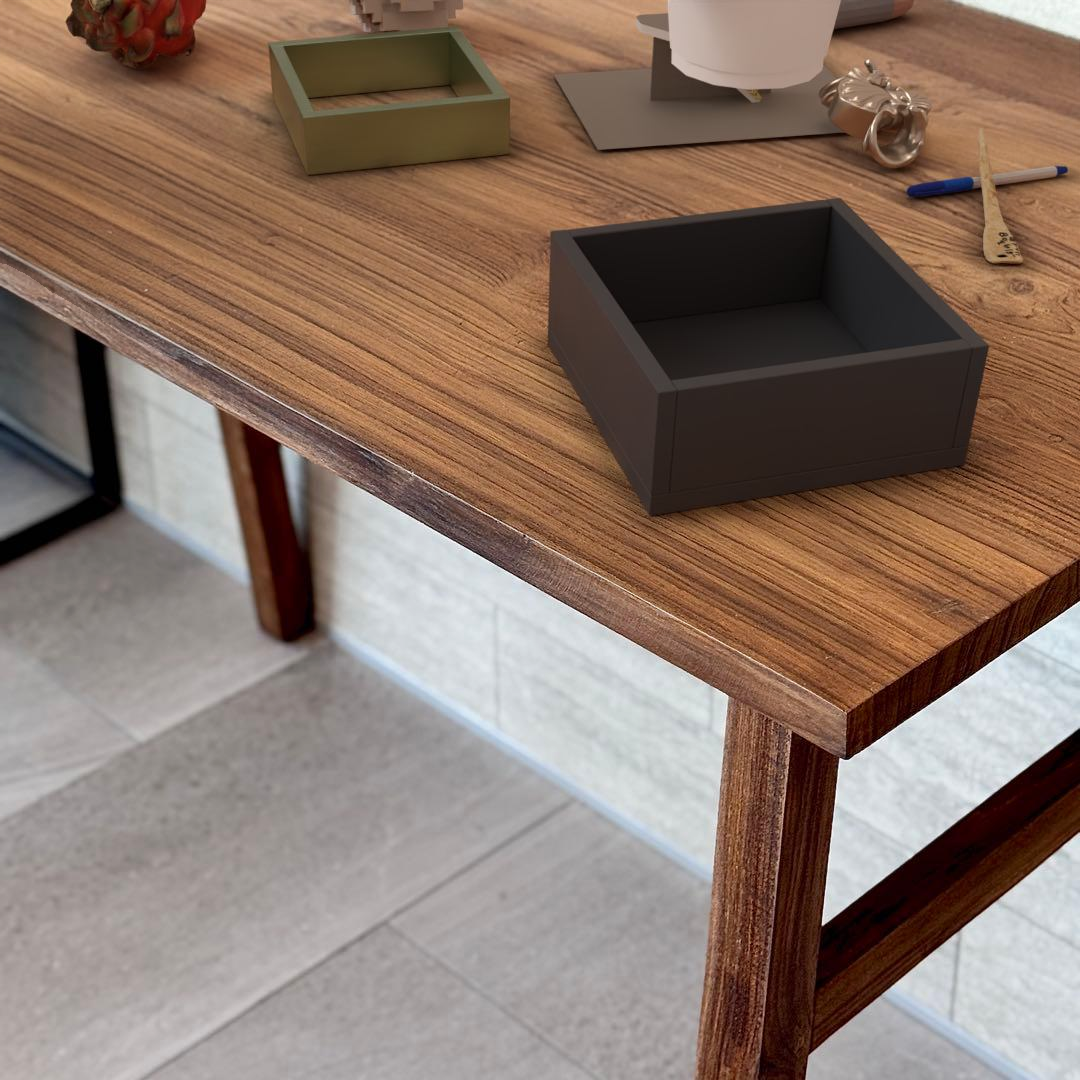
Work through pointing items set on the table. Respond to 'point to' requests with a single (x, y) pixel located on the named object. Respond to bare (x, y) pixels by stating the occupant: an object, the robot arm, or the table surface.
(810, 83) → the platform
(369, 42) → the olive square frame
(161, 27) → the dragon fruit
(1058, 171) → the ballpoint pen
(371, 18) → the caramel apple
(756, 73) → the foam cup
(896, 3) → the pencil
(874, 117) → the ornament
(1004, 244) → the tool
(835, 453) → the dark grey square tray
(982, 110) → the table surface
